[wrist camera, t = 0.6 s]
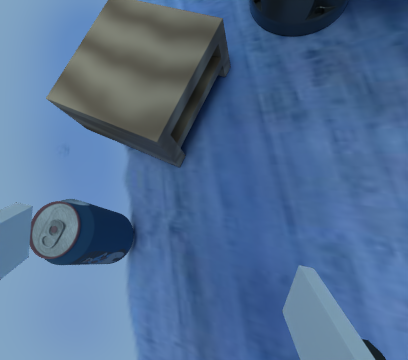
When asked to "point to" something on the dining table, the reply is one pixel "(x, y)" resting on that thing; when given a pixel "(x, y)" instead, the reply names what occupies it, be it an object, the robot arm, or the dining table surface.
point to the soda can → (79, 234)
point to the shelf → (143, 75)
